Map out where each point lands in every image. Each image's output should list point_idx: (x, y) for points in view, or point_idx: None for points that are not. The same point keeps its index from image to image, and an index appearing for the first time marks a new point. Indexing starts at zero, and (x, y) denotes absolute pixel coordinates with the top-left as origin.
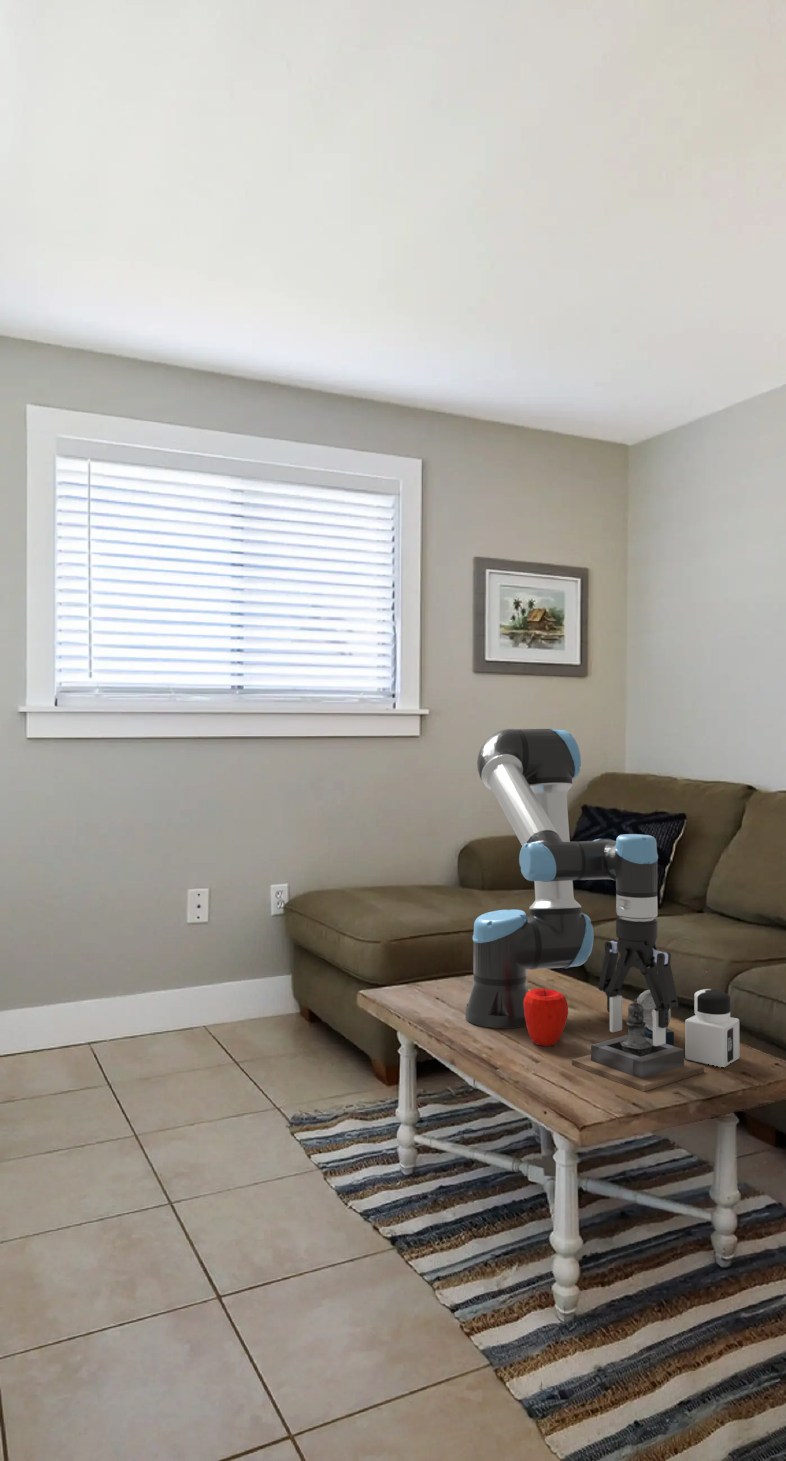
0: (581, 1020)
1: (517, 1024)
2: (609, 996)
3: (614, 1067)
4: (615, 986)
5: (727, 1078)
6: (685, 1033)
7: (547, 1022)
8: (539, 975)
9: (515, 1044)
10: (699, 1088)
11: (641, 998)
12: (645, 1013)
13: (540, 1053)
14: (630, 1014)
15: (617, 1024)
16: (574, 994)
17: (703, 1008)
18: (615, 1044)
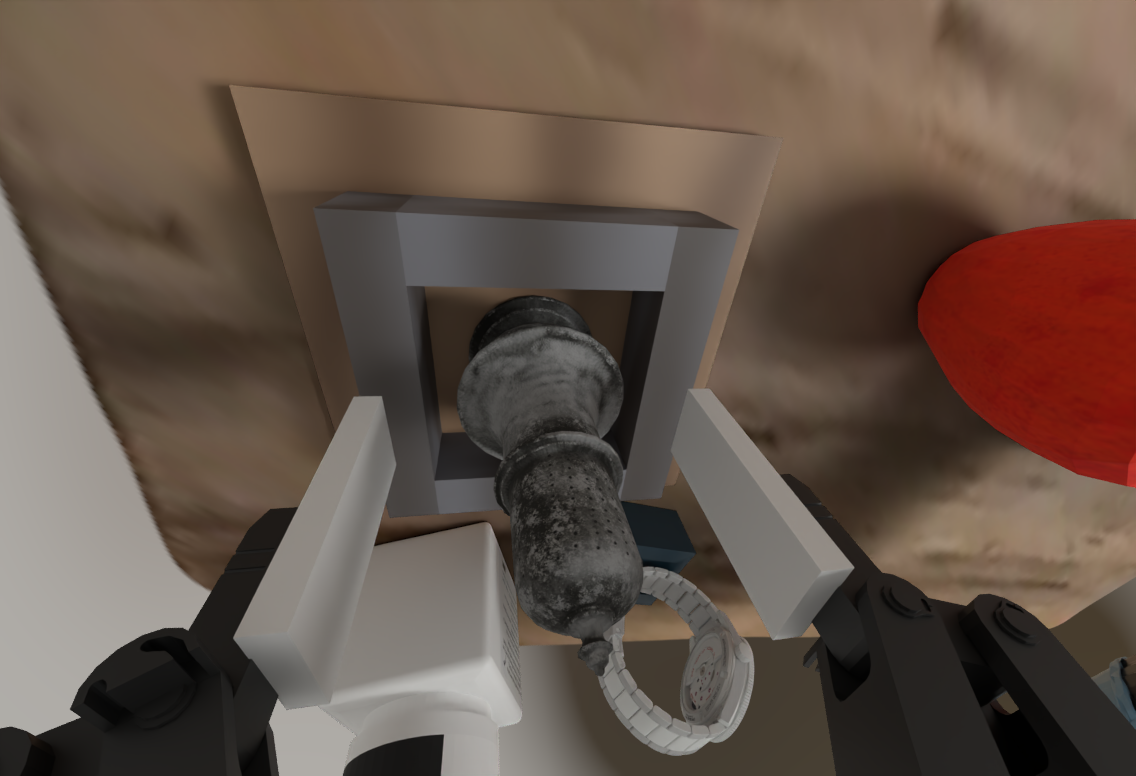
0: (888, 518)
1: None
2: (863, 582)
3: (545, 204)
4: (889, 725)
5: (272, 506)
6: (487, 604)
7: (1076, 268)
8: (1042, 614)
9: (1087, 170)
10: (202, 365)
11: (736, 675)
12: (706, 619)
13: (954, 160)
14: (581, 502)
15: (694, 447)
16: (947, 601)
17: (401, 769)
18: (647, 356)
